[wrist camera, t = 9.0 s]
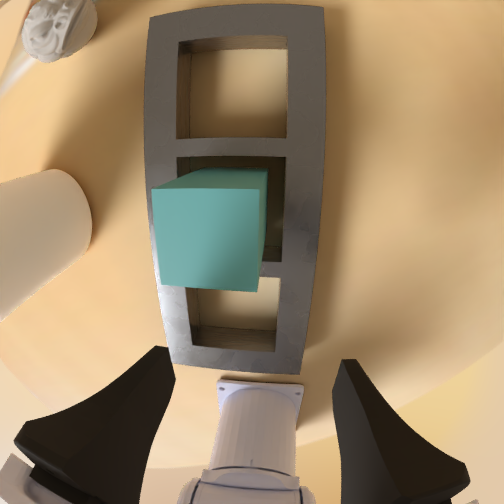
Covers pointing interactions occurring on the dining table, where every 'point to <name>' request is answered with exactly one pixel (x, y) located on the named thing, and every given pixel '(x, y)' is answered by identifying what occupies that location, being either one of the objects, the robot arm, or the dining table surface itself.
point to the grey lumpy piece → (58, 28)
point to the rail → (292, 148)
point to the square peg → (212, 228)
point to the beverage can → (39, 233)
